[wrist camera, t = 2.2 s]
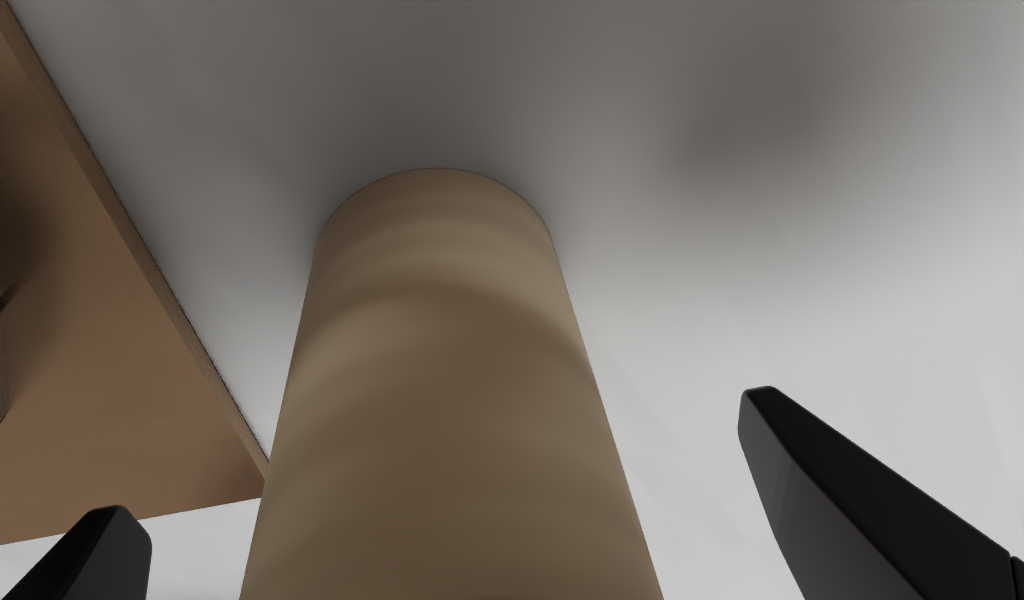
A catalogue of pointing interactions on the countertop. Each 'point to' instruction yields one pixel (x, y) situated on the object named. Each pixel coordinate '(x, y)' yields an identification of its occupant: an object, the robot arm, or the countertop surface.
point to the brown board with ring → (94, 340)
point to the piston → (443, 415)
